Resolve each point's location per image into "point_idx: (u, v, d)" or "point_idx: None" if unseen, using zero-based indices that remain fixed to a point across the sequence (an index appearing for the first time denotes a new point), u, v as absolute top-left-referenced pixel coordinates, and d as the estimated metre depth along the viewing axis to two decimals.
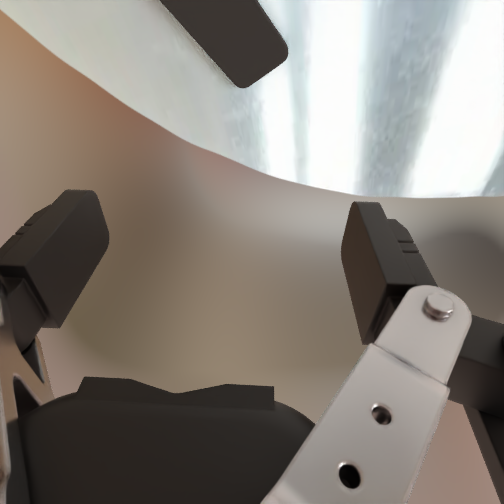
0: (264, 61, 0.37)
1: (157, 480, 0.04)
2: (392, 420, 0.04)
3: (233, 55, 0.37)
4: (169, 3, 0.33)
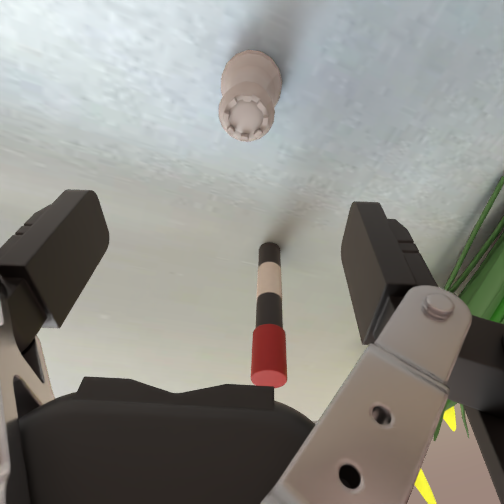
0: None
1: (157, 480, 0.04)
2: (392, 420, 0.04)
3: None
4: None
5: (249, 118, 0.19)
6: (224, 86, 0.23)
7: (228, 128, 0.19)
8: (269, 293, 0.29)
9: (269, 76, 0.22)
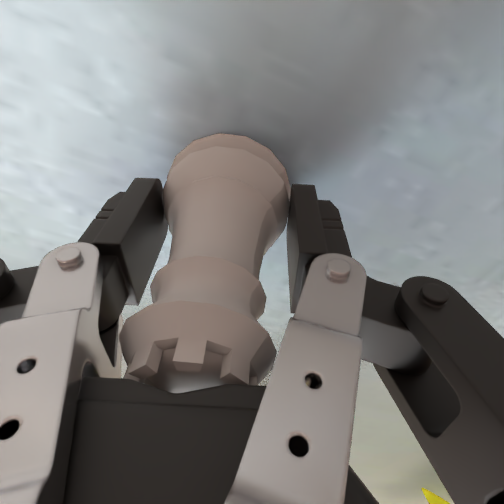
0: None
1: (157, 480, 0.04)
2: (323, 382, 0.05)
3: None
4: None
5: (202, 385, 0.06)
6: (167, 210, 0.11)
7: None
8: None
9: (264, 199, 0.10)
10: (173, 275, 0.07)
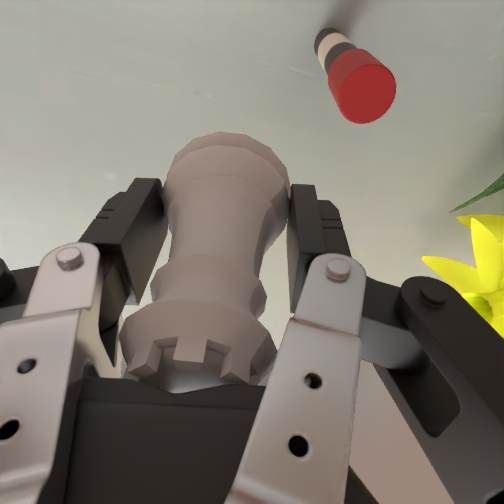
0: None
1: (157, 480, 0.04)
2: (323, 381, 0.05)
3: None
4: None
5: (203, 384, 0.06)
6: (167, 209, 0.11)
7: None
8: (344, 42, 0.20)
9: (264, 198, 0.10)
10: (173, 274, 0.07)
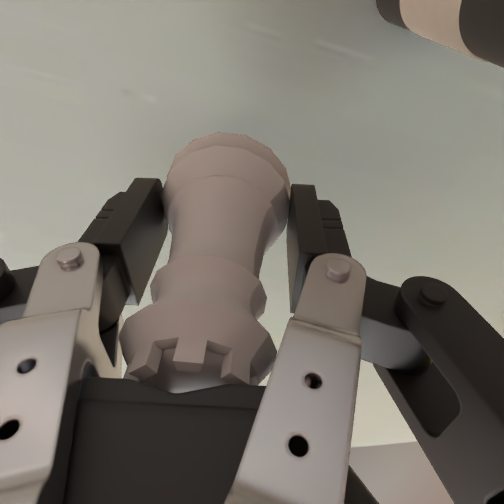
0: None
1: (157, 480, 0.04)
2: (322, 382, 0.05)
3: None
4: None
5: (203, 385, 0.06)
6: (167, 210, 0.11)
7: None
8: None
9: (264, 199, 0.10)
10: (173, 275, 0.07)
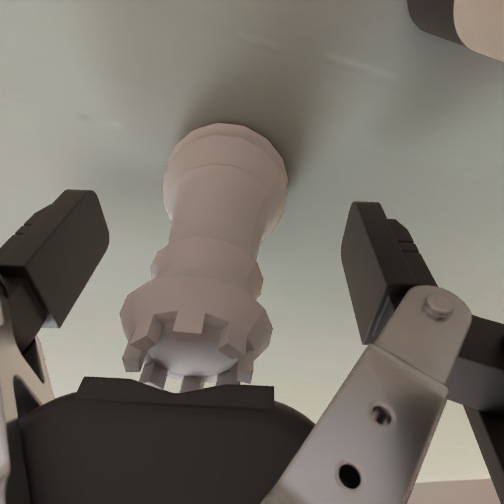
0: None
1: (157, 480, 0.04)
2: (392, 420, 0.04)
3: None
4: None
5: (201, 358, 0.07)
6: (167, 198, 0.11)
7: (145, 377, 0.07)
8: None
9: (261, 187, 0.10)
10: (173, 255, 0.08)
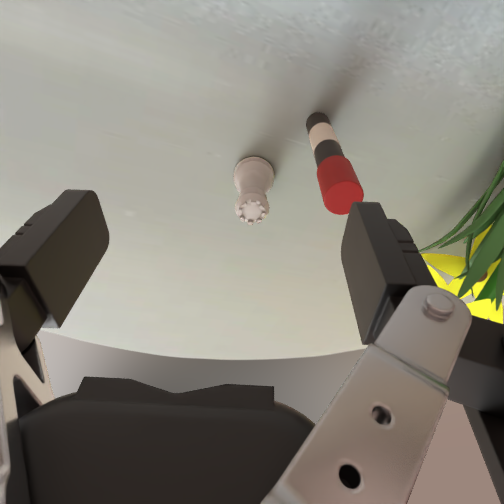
0: None
1: (157, 480, 0.04)
2: (392, 420, 0.04)
3: None
4: None
5: (254, 212, 0.31)
6: (236, 179, 0.35)
7: (240, 217, 0.31)
8: (329, 140, 0.27)
9: (266, 176, 0.34)
10: (246, 191, 0.32)
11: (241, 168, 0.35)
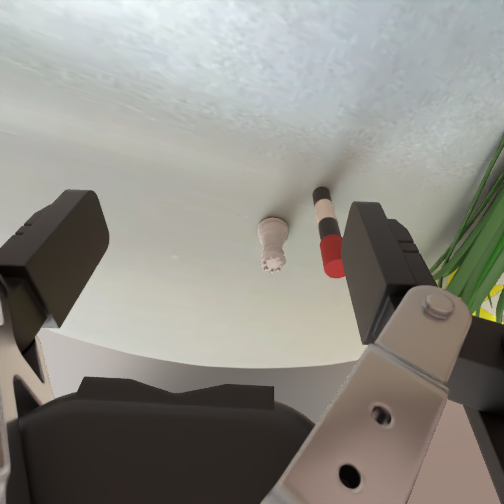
0: None
1: (157, 480, 0.04)
2: (391, 420, 0.04)
3: None
4: None
5: (274, 264, 0.42)
6: (259, 235, 0.46)
7: (264, 268, 0.42)
8: (329, 217, 0.38)
9: (282, 233, 0.45)
10: (268, 248, 0.43)
11: (263, 227, 0.46)
